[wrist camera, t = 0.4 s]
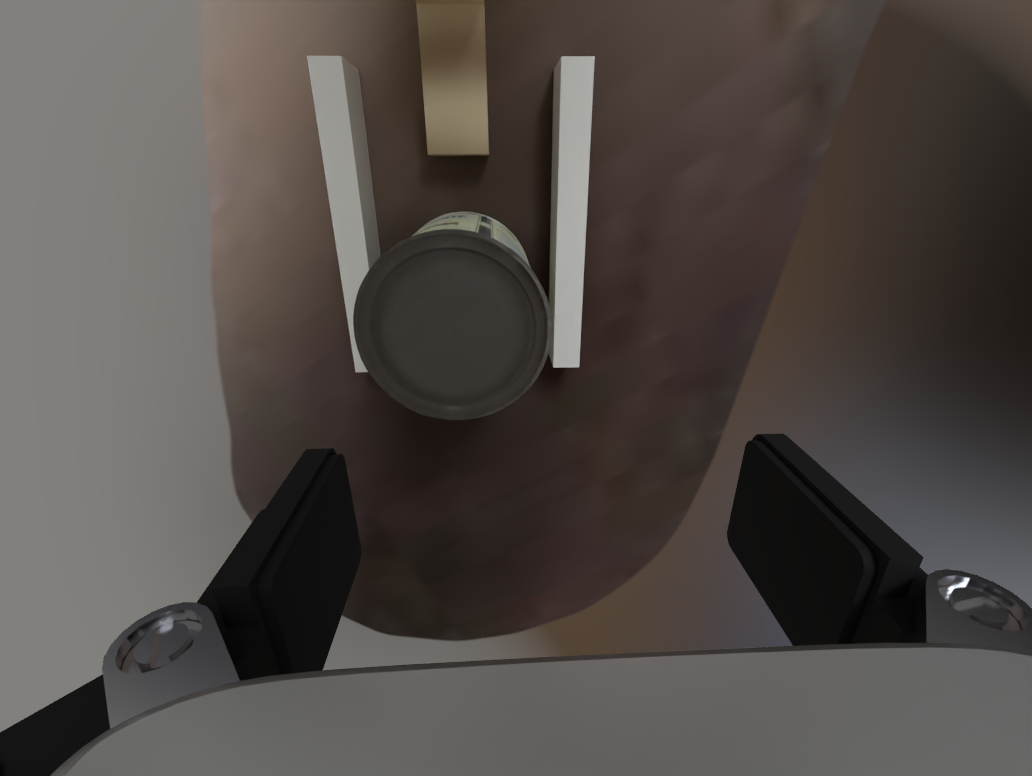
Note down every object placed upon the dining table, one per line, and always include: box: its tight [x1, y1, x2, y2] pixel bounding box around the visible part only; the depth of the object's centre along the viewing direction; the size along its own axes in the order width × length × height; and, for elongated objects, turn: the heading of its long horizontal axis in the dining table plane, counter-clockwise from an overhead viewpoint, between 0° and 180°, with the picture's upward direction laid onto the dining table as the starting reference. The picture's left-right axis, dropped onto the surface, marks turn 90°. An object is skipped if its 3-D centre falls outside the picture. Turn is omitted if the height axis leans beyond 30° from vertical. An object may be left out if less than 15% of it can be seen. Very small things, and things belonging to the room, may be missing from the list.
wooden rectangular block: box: [415, 0, 489, 156], centre depth 28 cm, size 12×4×8 cm, turn 1°
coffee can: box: [353, 211, 552, 420], centre depth 31 cm, size 10×10×14 cm
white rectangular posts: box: [307, 56, 595, 372], centre depth 34 cm, size 20×17×4 cm
